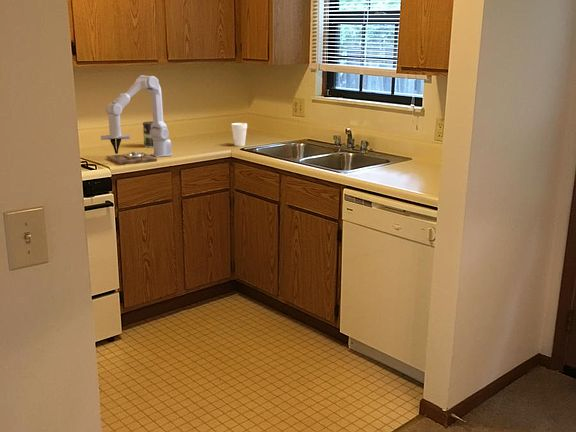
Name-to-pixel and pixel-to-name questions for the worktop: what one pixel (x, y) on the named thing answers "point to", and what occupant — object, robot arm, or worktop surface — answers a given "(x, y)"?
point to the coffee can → (147, 134)
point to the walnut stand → (123, 160)
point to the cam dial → (133, 155)
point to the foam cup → (239, 133)
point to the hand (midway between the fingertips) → (116, 153)
